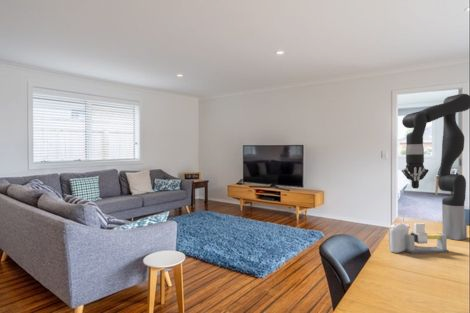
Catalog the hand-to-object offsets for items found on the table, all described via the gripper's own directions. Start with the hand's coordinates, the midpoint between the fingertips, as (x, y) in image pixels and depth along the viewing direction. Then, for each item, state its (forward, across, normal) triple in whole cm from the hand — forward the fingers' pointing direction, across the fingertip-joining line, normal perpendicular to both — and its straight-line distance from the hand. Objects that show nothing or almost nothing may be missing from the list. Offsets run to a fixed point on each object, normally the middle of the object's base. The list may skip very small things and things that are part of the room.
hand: (415, 188), depth 142 cm
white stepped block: (+23, +8, +13) cm, 27 cm away
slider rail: (+27, +4, +13) cm, 30 cm away
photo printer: (+27, +16, +11) cm, 33 cm away
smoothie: (+27, +9, +3) cm, 29 cm away
